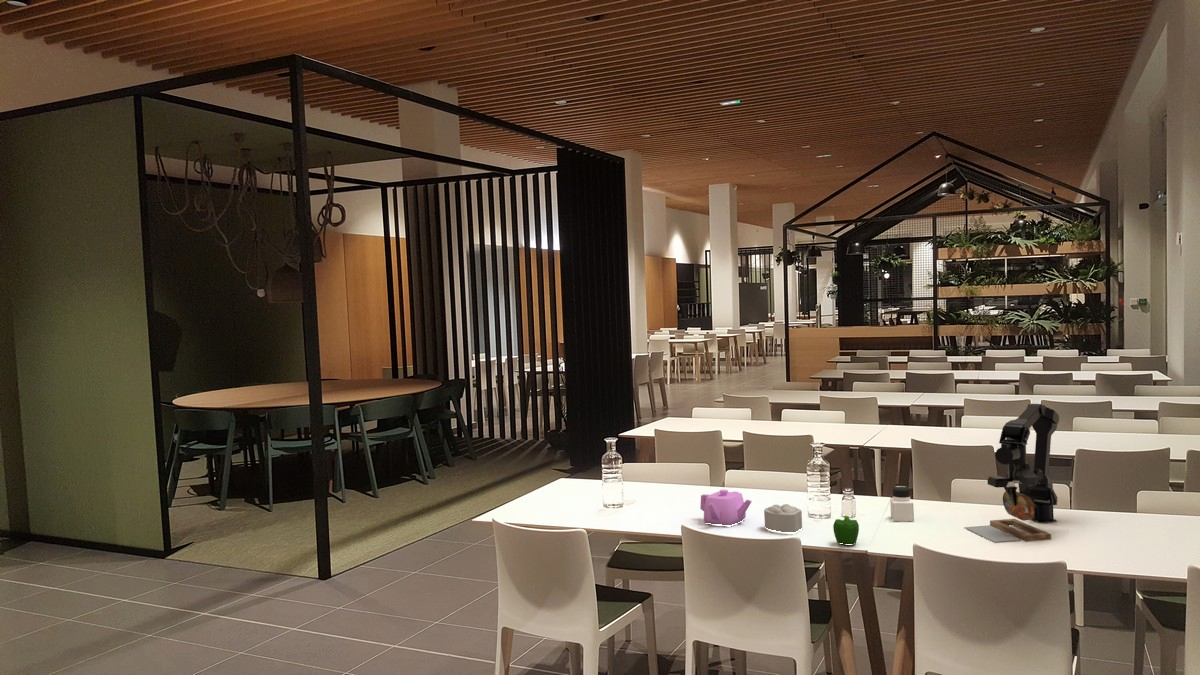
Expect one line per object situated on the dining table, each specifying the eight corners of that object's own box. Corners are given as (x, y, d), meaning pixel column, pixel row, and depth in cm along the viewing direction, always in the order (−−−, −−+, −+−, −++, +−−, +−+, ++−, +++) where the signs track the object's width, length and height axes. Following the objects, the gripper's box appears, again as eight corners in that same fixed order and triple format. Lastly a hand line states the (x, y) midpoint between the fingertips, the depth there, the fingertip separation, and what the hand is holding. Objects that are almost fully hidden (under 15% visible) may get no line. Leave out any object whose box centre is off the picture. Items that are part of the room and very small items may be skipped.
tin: (1003, 511, 295) (1000, 488, 295) (1011, 510, 295) (1009, 486, 295) (1028, 524, 280) (1026, 499, 280) (1037, 522, 280) (1035, 497, 280)
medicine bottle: (914, 521, 308) (912, 489, 308) (893, 521, 309) (892, 489, 309) (910, 516, 315) (909, 484, 315) (890, 516, 316) (889, 485, 316)
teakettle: (738, 515, 331) (737, 483, 331) (754, 525, 314) (752, 492, 314) (696, 519, 328) (695, 487, 328) (710, 530, 311) (709, 496, 311)
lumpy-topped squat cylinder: (793, 535, 298) (792, 511, 298) (759, 531, 306) (758, 507, 306) (805, 528, 306) (804, 504, 306) (771, 524, 314) (770, 501, 314)
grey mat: (988, 526, 297) (988, 525, 297) (1020, 540, 278) (1020, 539, 278) (964, 528, 296) (964, 527, 296) (994, 542, 277) (994, 541, 277)
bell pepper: (835, 539, 290) (834, 510, 290) (860, 541, 287) (859, 512, 287) (832, 546, 282) (831, 516, 282) (857, 548, 279) (856, 518, 279)
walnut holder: (1014, 523, 299) (1014, 518, 299) (1051, 539, 278) (1051, 534, 278) (990, 525, 298) (989, 520, 298) (1025, 541, 277) (1025, 536, 277)
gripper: (1004, 465, 278) (1005, 512, 279) (1057, 462, 280) (1059, 508, 280) (985, 460, 289) (987, 505, 290) (1037, 456, 291) (1039, 501, 291)
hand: (1018, 505), depth 287 cm, fingers closed on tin, 2 cm apart
